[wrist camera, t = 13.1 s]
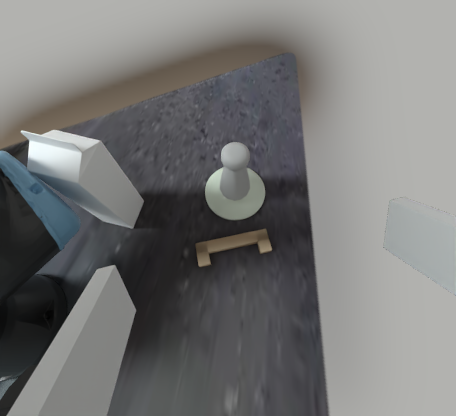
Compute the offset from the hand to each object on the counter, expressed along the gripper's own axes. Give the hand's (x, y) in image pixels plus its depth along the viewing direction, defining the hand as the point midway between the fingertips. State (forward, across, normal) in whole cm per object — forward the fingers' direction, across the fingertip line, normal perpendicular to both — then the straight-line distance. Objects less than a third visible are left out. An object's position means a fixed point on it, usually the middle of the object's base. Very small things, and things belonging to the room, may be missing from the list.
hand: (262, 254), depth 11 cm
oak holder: (+25, +1, -16) cm, 30 cm away
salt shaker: (+33, +4, -8) cm, 34 cm away
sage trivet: (+33, +4, -8) cm, 34 cm away
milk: (+34, -18, -8) cm, 39 cm away
